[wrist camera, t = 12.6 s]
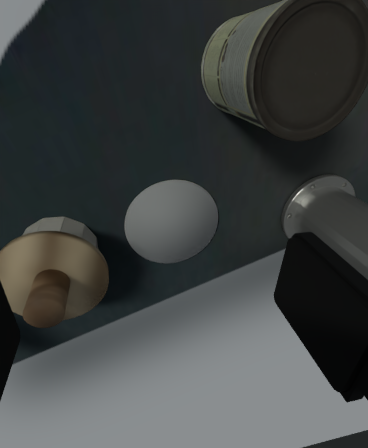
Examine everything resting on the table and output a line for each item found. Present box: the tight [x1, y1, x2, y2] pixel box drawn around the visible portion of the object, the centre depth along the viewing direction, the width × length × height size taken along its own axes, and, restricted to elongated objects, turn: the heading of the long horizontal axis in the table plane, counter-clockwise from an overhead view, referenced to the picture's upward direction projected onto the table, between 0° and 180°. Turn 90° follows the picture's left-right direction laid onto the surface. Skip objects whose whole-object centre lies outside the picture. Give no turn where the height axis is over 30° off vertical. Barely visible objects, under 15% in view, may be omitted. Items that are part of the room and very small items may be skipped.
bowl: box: [23, 217, 98, 249], centre depth 37 cm, size 10×10×6 cm
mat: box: [125, 180, 218, 263], centre depth 41 cm, size 14×14×1 cm
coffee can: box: [201, 0, 368, 141], centre depth 27 cm, size 10×10×14 cm
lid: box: [0, 231, 109, 328], centre depth 32 cm, size 13×13×6 cm
